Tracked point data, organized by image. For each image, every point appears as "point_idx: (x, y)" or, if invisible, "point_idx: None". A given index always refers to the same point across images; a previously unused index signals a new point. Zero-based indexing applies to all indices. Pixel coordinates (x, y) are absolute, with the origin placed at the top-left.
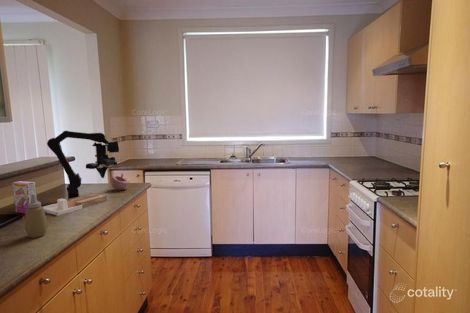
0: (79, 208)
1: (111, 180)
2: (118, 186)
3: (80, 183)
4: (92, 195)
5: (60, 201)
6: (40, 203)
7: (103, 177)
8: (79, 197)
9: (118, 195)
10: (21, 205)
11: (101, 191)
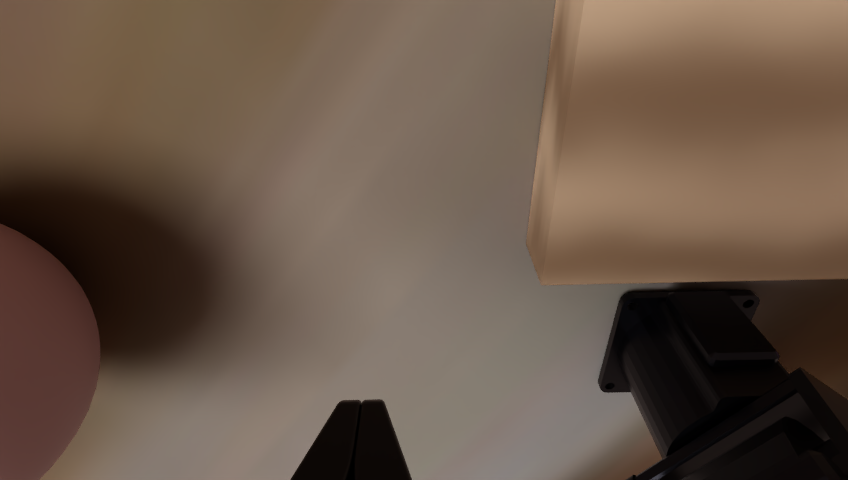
0: None
1: (48, 440)
2: (19, 253)
3: (827, 463)
4: (651, 156)
5: None
6: None
7: (360, 407)
8: (810, 224)
9: (190, 5)
10: None
11: (249, 388)
